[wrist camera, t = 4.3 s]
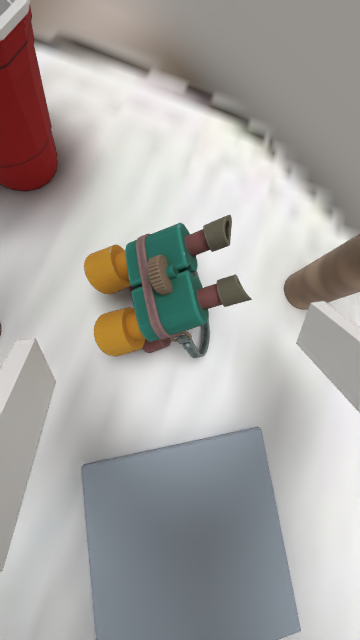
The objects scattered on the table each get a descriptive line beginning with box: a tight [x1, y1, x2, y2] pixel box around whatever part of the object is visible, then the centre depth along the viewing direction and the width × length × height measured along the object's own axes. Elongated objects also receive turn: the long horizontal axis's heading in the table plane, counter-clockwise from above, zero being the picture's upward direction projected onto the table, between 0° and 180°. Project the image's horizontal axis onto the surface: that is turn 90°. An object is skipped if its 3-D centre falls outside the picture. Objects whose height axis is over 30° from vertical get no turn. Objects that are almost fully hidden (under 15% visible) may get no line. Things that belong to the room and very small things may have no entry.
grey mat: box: [81, 427, 301, 640], centre depth 17 cm, size 14×14×1 cm
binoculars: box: [84, 215, 252, 358], centre depth 16 cm, size 9×9×10 cm
